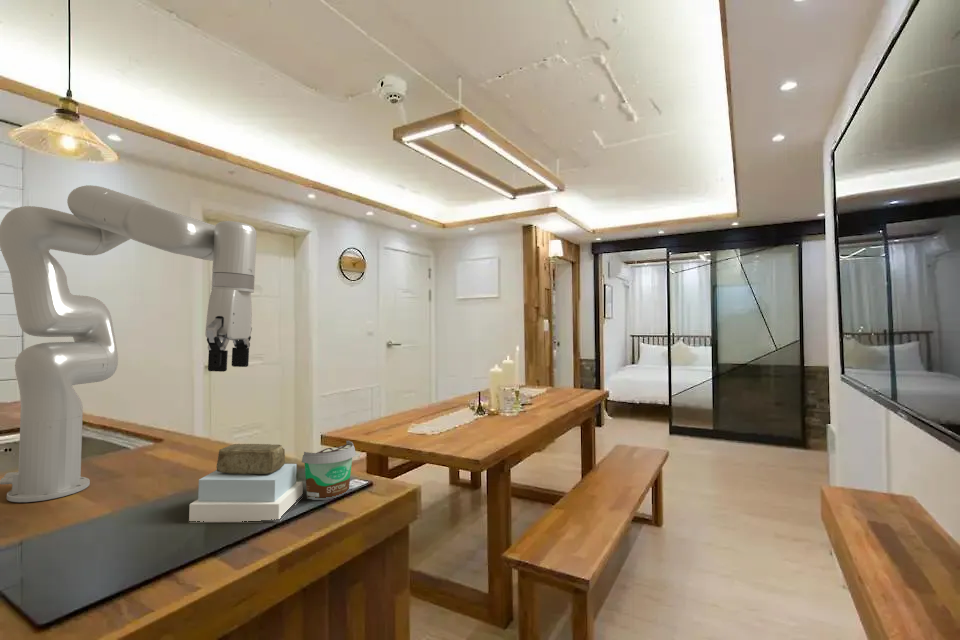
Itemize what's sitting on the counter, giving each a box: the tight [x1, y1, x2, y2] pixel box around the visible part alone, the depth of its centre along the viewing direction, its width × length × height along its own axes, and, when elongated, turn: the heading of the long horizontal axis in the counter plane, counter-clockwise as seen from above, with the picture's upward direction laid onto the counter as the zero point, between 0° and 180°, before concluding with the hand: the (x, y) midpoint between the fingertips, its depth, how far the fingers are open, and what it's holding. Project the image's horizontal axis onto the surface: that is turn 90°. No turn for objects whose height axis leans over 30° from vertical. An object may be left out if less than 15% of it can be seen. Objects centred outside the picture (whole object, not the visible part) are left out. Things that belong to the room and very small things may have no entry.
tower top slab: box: [197, 463, 297, 502], centre depth 87 cm, size 14×10×4 cm
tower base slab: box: [188, 481, 304, 523], centre depth 87 cm, size 16×12×4 cm
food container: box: [301, 440, 356, 498], centre depth 94 cm, size 12×6×10 cm, turn 148°
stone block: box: [216, 443, 286, 474], centre depth 87 cm, size 6×12×5 cm, turn 89°
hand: (229, 368), depth 89 cm, fingers open, 9 cm apart
